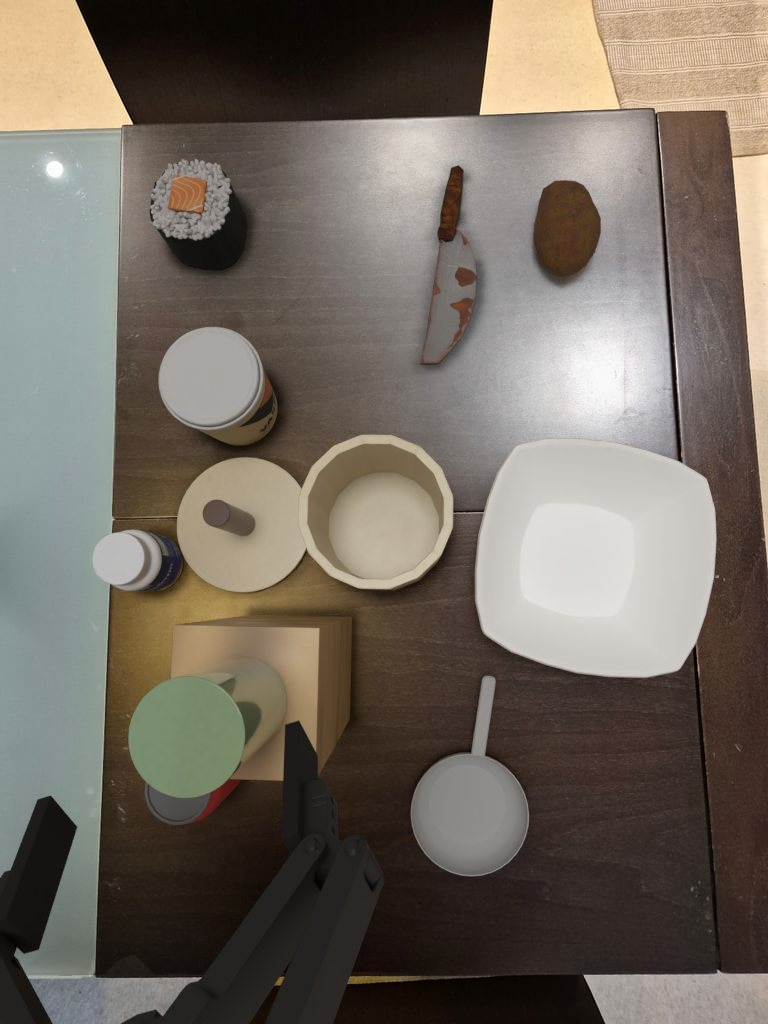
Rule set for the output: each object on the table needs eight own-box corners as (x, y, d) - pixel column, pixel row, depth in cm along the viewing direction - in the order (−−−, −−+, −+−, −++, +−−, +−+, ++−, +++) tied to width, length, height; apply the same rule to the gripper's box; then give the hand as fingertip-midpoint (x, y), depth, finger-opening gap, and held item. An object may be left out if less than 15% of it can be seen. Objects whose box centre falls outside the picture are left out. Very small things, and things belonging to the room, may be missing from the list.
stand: (248, 716, 72) (165, 777, 49) (252, 614, 74) (172, 624, 50) (349, 719, 72) (315, 782, 48) (352, 616, 73) (319, 627, 49)
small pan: (403, 851, 70) (402, 865, 66) (431, 662, 72) (432, 666, 68) (515, 871, 70) (520, 887, 66) (541, 681, 71) (548, 685, 68)
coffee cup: (284, 454, 75) (259, 428, 63) (194, 453, 76) (152, 427, 64) (287, 365, 76) (262, 323, 64) (198, 365, 77) (157, 323, 65)
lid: (177, 591, 74) (134, 590, 63) (183, 458, 76) (142, 435, 65) (310, 593, 73) (291, 593, 62) (314, 459, 75) (296, 436, 64)
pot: (319, 588, 73) (295, 587, 59) (323, 464, 75) (300, 433, 60) (446, 591, 73) (452, 590, 58) (447, 465, 74) (453, 435, 60)
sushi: (167, 268, 78) (139, 231, 70) (180, 194, 79) (154, 149, 71) (241, 276, 78) (221, 240, 70) (254, 202, 78) (235, 158, 70)
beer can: (218, 709, 73) (179, 732, 61) (264, 758, 72) (233, 791, 60) (170, 757, 72) (121, 789, 60) (215, 807, 72) (174, 849, 60)
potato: (587, 193, 77) (602, 158, 70) (600, 282, 76) (616, 255, 69) (524, 201, 77) (533, 167, 71) (536, 290, 76) (546, 263, 70)
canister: (196, 747, 49) (124, 796, 37) (200, 655, 49) (131, 674, 37) (286, 749, 48) (242, 800, 36) (289, 657, 49) (247, 677, 37)
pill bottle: (153, 603, 74) (112, 604, 64) (118, 560, 75) (72, 555, 65) (196, 565, 74) (162, 561, 64) (161, 523, 75) (122, 512, 65)
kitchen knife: (465, 369, 75) (416, 360, 74) (462, 373, 76) (415, 364, 76) (497, 171, 76) (449, 161, 76) (493, 179, 78) (447, 169, 77)
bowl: (489, 440, 74) (498, 420, 66) (695, 476, 73) (732, 461, 64) (453, 643, 72) (458, 650, 64) (664, 684, 71) (698, 697, 62)
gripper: (-253, 1528, 22) (-1, 882, 41) (534, 1348, 21) (427, 756, 39) (-468, 1490, 19) (-84, 798, 37) (470, 1266, 17) (385, 655, 35)
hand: (178, 776), depth 38 cm, fingers open, 13 cm apart
